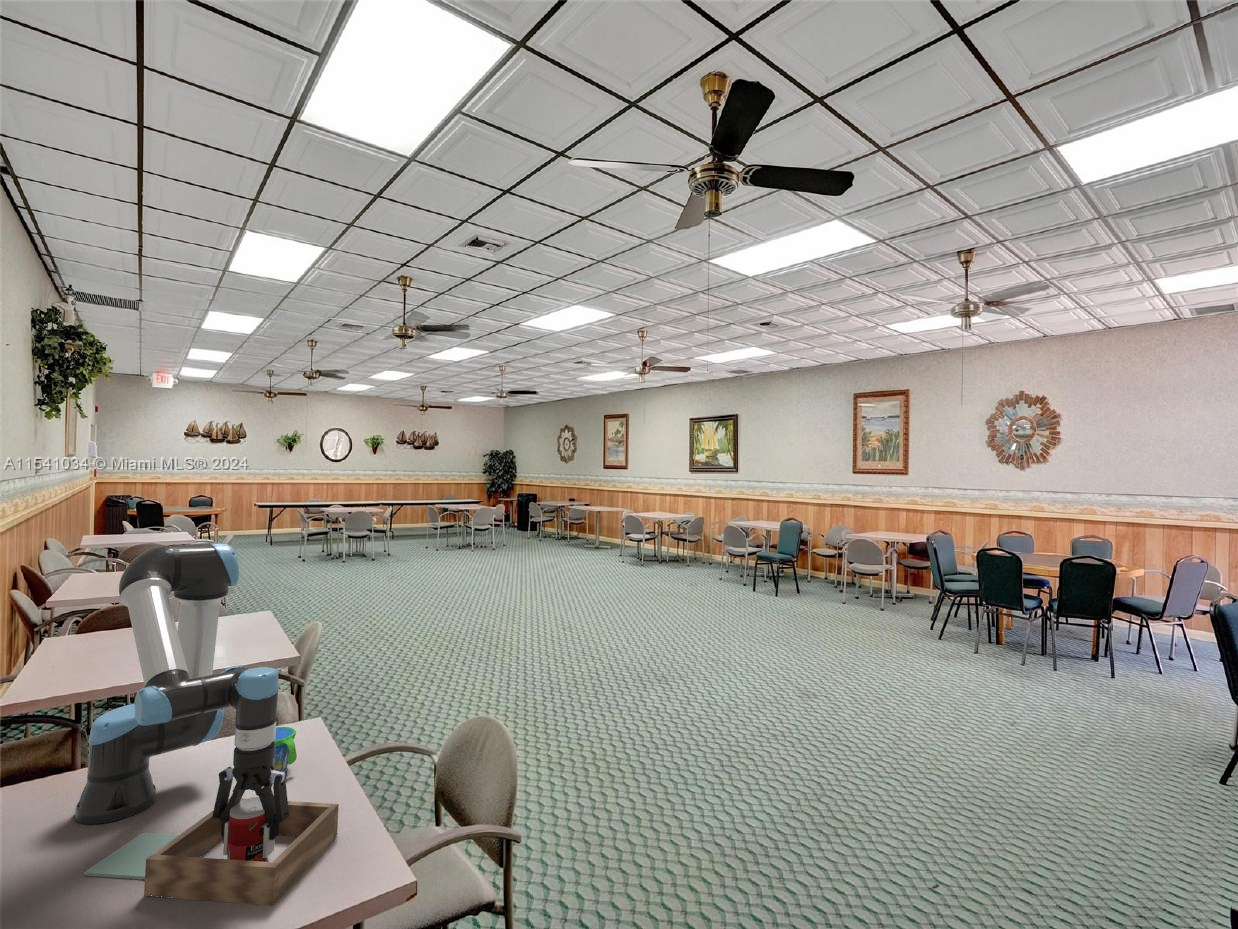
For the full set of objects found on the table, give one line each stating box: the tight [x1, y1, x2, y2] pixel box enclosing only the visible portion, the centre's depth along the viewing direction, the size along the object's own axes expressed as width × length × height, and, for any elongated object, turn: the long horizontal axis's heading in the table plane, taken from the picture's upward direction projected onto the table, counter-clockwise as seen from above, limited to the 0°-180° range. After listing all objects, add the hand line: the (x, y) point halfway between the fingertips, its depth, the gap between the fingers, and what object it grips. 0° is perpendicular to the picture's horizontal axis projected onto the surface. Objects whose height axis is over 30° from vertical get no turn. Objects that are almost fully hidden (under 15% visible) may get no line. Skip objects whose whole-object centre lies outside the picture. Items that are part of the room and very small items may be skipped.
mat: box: [83, 832, 180, 880], centre depth 126 cm, size 14×14×1 cm
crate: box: [143, 797, 339, 906], centre depth 125 cm, size 26×23×7 cm
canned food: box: [226, 796, 268, 862], centre depth 125 cm, size 8×8×11 cm
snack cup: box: [273, 726, 297, 772], centre depth 165 cm, size 16×11×10 cm
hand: (248, 852), depth 125 cm, fingers closed on canned food, 8 cm apart
